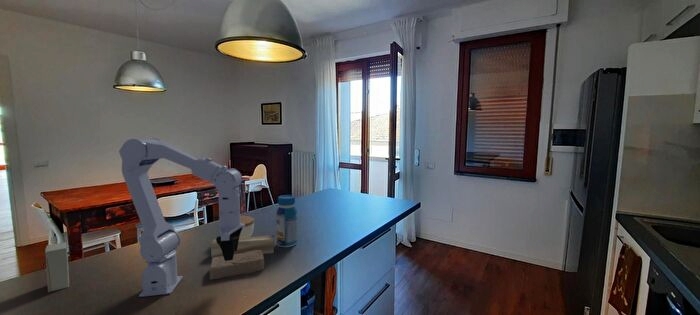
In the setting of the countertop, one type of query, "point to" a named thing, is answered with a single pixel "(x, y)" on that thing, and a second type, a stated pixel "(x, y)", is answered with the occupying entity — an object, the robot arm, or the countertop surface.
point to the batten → (247, 245)
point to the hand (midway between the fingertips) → (231, 255)
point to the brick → (237, 264)
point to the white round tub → (247, 226)
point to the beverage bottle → (286, 221)
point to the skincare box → (57, 266)
